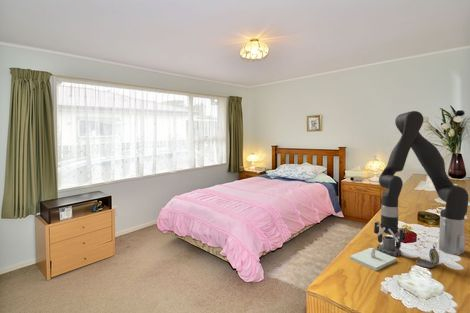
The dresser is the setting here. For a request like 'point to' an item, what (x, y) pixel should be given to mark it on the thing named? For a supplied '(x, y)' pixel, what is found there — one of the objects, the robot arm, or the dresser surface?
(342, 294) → the dresser surface
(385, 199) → the robot arm
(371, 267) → the plate
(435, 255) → the pocket watch
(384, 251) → the planet gear
